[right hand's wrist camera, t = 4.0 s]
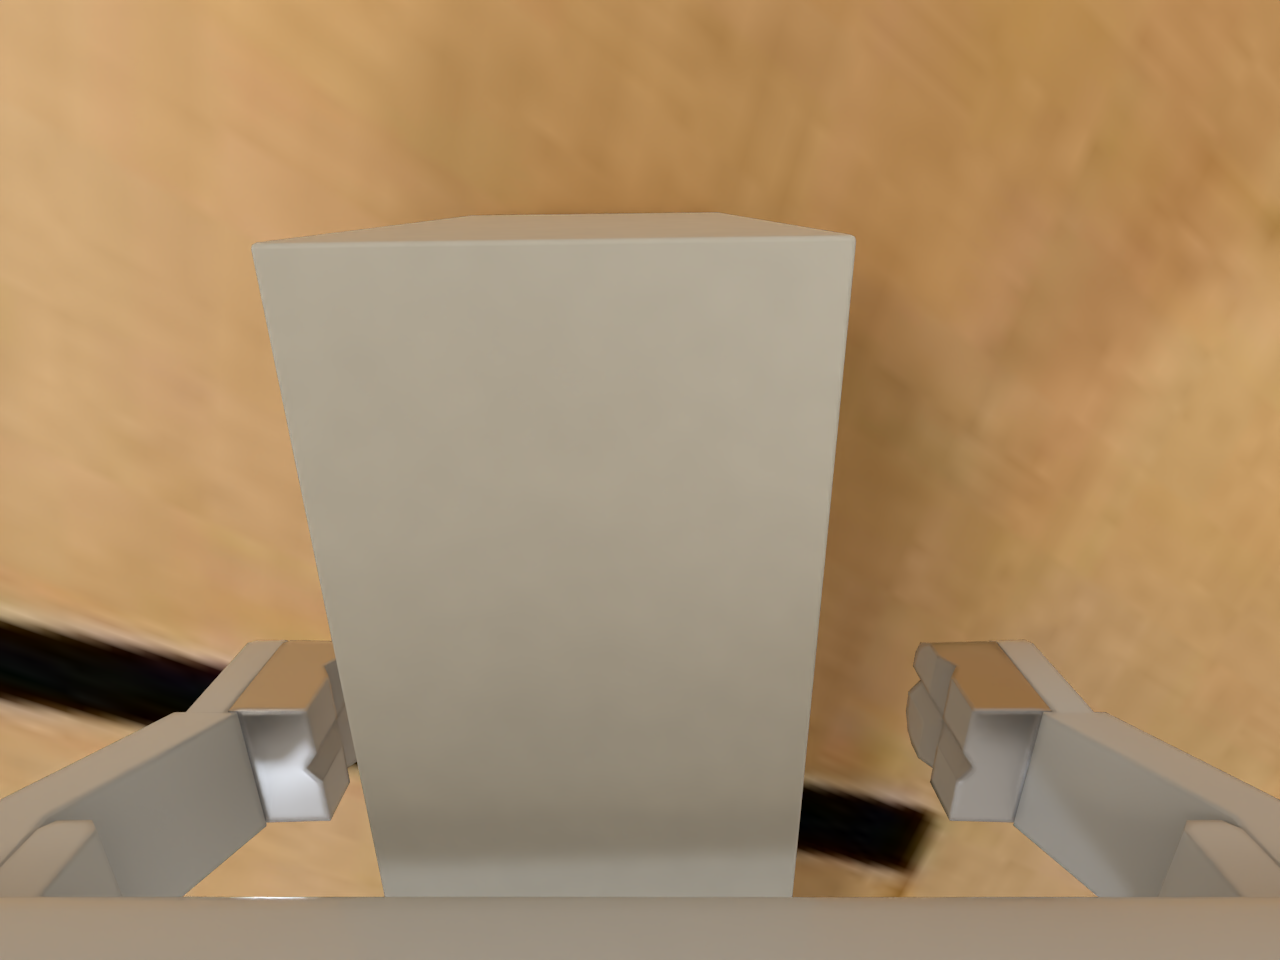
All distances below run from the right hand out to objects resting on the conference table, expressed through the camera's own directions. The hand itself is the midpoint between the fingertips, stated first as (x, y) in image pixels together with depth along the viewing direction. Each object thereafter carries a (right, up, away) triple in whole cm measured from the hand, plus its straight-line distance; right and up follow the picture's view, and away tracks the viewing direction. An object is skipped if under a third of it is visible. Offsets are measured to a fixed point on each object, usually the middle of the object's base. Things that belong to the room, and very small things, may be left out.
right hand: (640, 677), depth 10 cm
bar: (0, -19, +14) cm, 24 cm away
